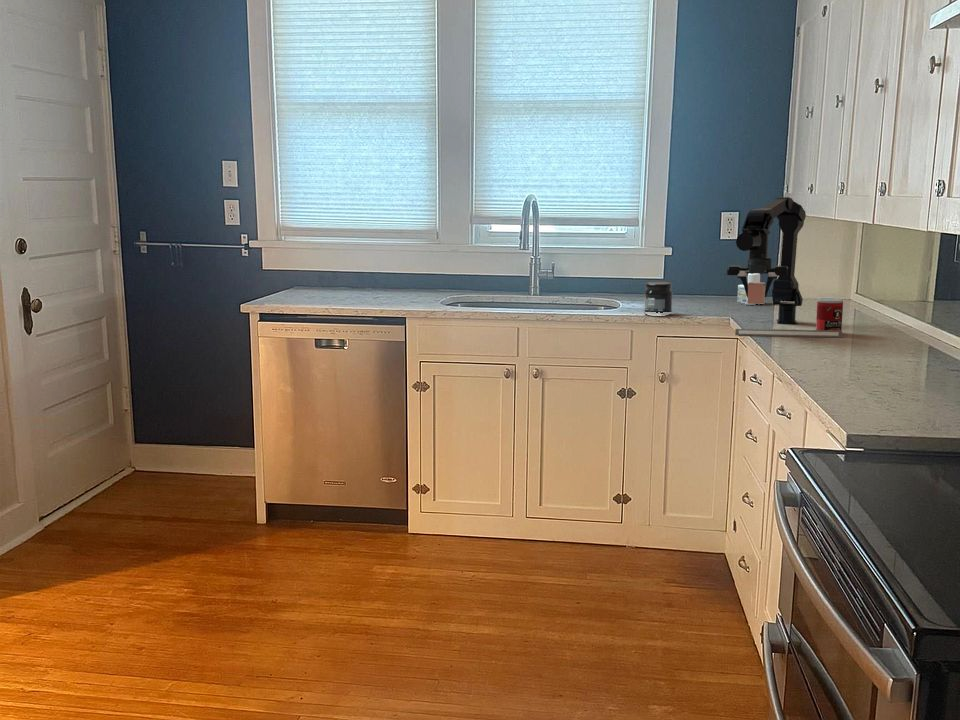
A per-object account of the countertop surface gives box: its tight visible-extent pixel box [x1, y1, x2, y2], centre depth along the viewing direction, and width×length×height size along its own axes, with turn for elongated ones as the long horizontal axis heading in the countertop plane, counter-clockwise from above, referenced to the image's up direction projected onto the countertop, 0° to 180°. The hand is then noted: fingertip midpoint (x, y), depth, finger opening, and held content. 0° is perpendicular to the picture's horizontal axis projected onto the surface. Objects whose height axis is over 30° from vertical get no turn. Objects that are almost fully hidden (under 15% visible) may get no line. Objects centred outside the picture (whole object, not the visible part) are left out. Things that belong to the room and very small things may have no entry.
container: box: [737, 273, 765, 305], centre depth 359 cm, size 8×8×13 cm
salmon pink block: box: [748, 281, 766, 304], centre depth 289 cm, size 5×8×6 cm
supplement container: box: [643, 281, 674, 313], centre depth 334 cm, size 10×10×12 cm
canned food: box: [815, 297, 844, 332], centre depth 284 cm, size 8×8×11 cm
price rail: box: [734, 328, 843, 338], centre depth 282 cm, size 1×32×2 cm, turn 76°
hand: (756, 297), depth 289 cm, fingers closed on salmon pink block, 5 cm apart
